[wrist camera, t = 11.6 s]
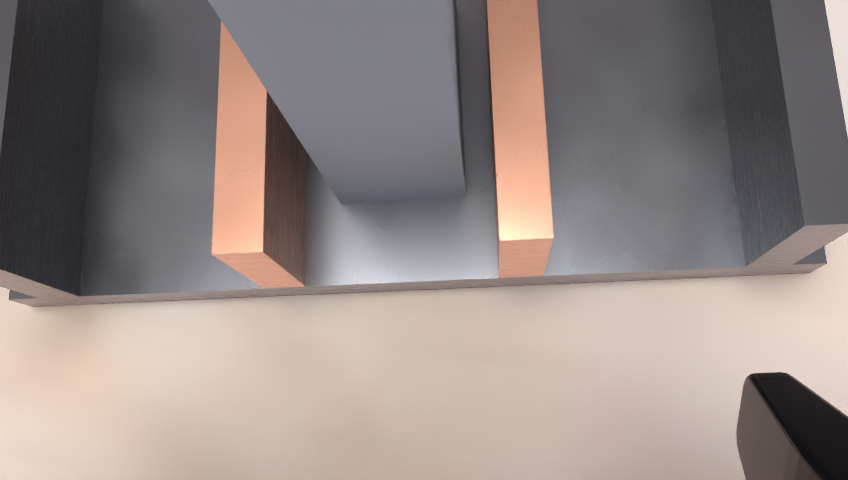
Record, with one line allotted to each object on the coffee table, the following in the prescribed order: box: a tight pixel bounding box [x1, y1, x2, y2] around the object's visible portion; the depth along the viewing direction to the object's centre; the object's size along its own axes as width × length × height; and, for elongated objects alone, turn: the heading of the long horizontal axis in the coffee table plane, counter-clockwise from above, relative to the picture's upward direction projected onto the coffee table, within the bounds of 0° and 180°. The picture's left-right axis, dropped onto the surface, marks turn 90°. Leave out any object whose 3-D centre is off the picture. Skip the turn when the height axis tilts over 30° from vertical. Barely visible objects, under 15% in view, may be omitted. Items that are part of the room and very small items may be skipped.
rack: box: [0, 0, 848, 307], centre depth 18 cm, size 9×19×4 cm, turn 92°
